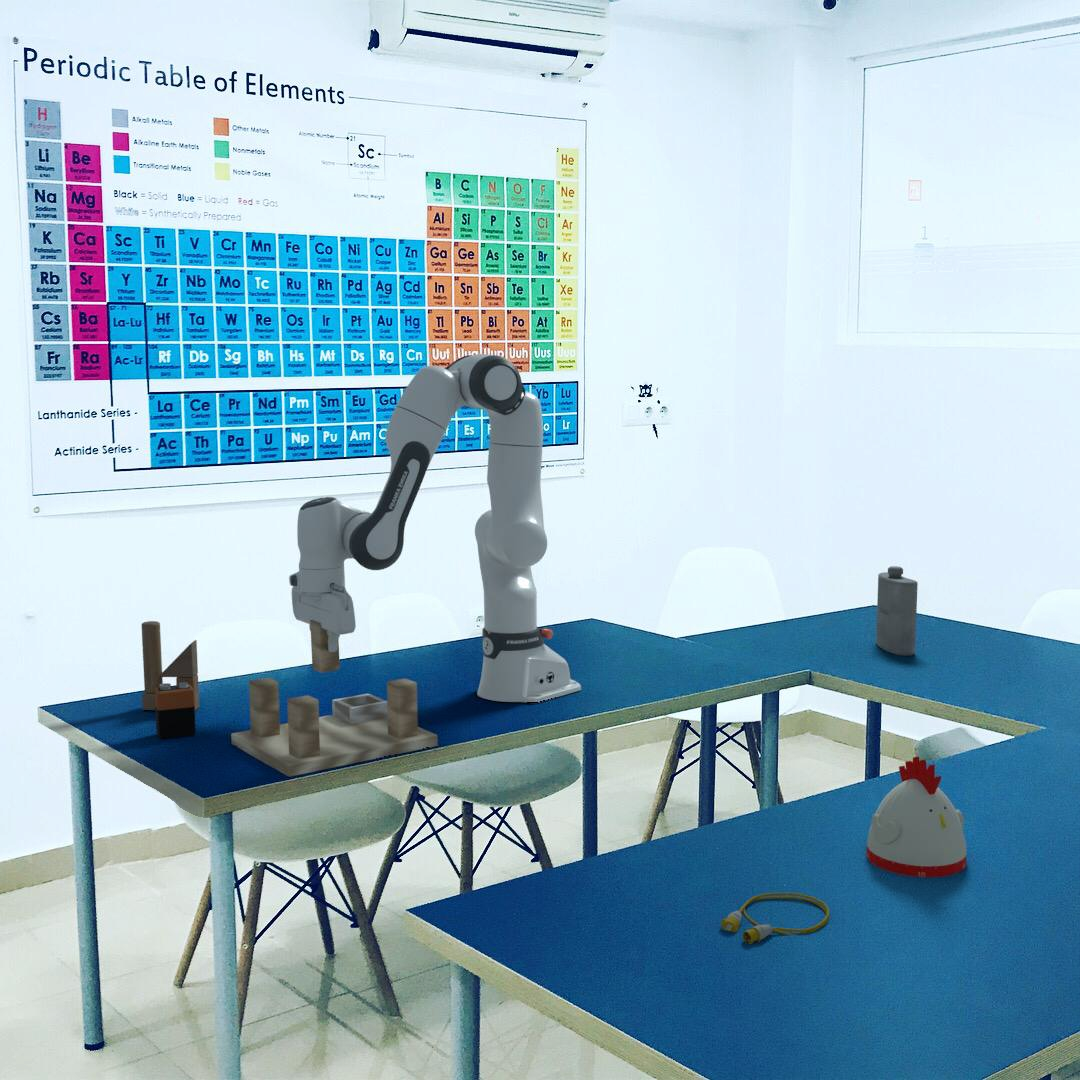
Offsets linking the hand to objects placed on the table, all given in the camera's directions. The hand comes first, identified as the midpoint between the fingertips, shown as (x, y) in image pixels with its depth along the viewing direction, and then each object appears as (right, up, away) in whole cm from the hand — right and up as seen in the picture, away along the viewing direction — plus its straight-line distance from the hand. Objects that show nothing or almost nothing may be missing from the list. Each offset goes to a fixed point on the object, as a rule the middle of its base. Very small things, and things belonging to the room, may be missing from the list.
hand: (325, 648), depth 269 cm
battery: (-27, -16, -11) cm, 33 cm away
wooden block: (-32, -13, +7) cm, 36 cm away
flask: (+128, -5, +58) cm, 141 cm away
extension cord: (+73, -28, -94) cm, 122 cm away
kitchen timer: (+97, -25, -74) cm, 124 cm away
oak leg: (0, -4, +1) cm, 4 cm away
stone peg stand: (+4, -16, -18) cm, 25 cm away
